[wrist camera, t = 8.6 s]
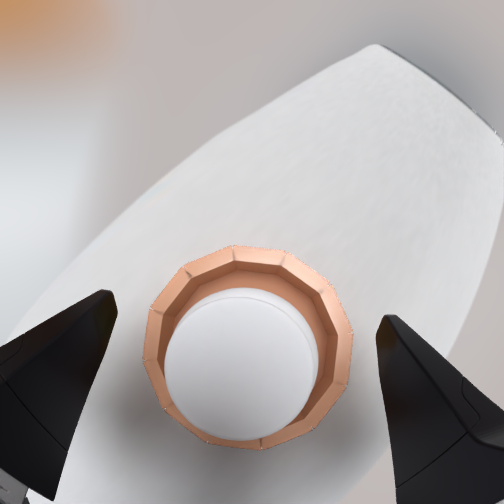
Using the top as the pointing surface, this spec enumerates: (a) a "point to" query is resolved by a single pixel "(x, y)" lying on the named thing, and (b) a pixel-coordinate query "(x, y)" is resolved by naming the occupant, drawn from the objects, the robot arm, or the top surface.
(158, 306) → the terracotta bowl
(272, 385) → the supplement bottle
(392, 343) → the robot arm
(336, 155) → the top surface
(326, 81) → the top surface
